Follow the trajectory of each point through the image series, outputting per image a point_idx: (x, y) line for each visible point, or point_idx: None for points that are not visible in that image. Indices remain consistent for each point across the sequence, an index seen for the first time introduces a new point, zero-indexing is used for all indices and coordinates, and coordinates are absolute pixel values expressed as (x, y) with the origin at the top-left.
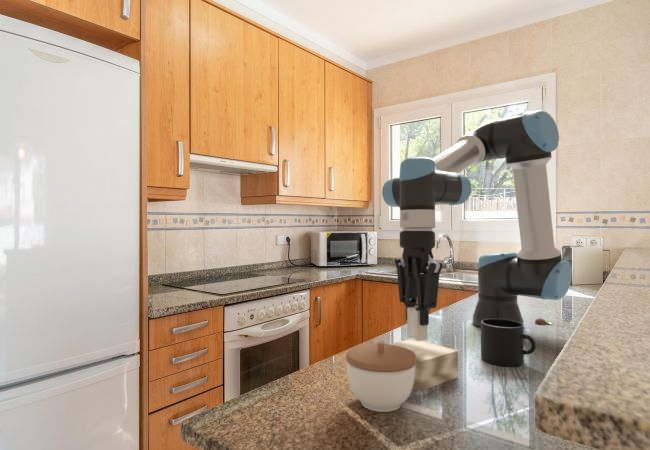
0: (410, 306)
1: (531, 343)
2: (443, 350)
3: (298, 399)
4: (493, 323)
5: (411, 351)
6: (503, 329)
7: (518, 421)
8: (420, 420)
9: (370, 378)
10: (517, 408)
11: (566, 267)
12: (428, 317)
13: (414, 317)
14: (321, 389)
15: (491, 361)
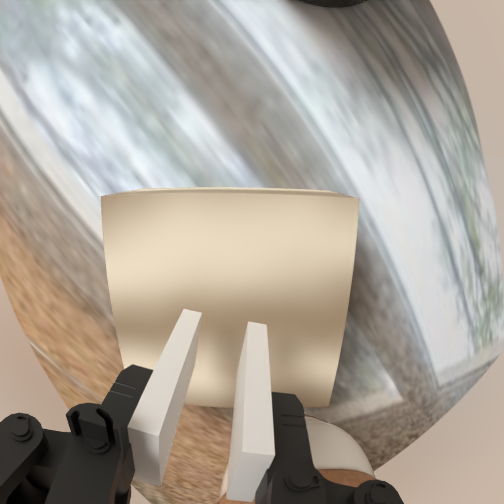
0: (133, 471)
1: None
2: (317, 250)
3: (195, 488)
4: None
5: (353, 486)
6: None
7: (495, 304)
8: (378, 426)
9: None
10: (489, 257)
11: None
12: (307, 432)
13: (175, 410)
14: (178, 461)
15: (325, 3)
